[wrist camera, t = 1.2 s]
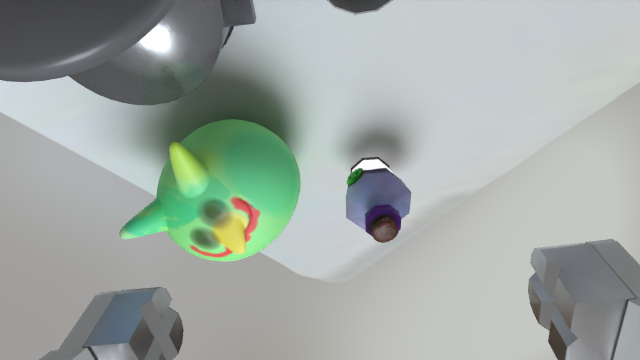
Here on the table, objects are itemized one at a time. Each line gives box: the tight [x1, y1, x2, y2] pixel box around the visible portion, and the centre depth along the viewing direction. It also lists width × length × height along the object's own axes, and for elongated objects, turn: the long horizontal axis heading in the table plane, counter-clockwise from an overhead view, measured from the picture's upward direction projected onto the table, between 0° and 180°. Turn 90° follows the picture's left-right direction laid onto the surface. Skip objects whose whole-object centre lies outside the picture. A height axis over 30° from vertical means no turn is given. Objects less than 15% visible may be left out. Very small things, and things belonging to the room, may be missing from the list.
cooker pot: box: [68, 0, 256, 105], centre depth 39 cm, size 17×21×10 cm
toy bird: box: [120, 119, 300, 261], centre depth 49 cm, size 18×17×15 cm
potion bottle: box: [346, 157, 411, 243], centre depth 53 cm, size 9×9×12 cm
